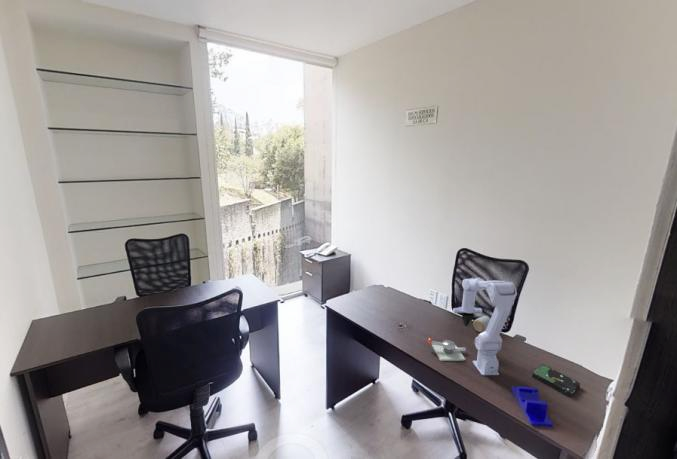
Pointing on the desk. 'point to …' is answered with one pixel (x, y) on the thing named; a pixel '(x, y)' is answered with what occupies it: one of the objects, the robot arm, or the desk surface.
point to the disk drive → (556, 380)
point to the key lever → (443, 344)
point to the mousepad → (401, 327)
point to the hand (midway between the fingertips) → (465, 325)
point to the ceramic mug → (481, 323)
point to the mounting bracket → (532, 406)
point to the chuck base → (447, 356)
